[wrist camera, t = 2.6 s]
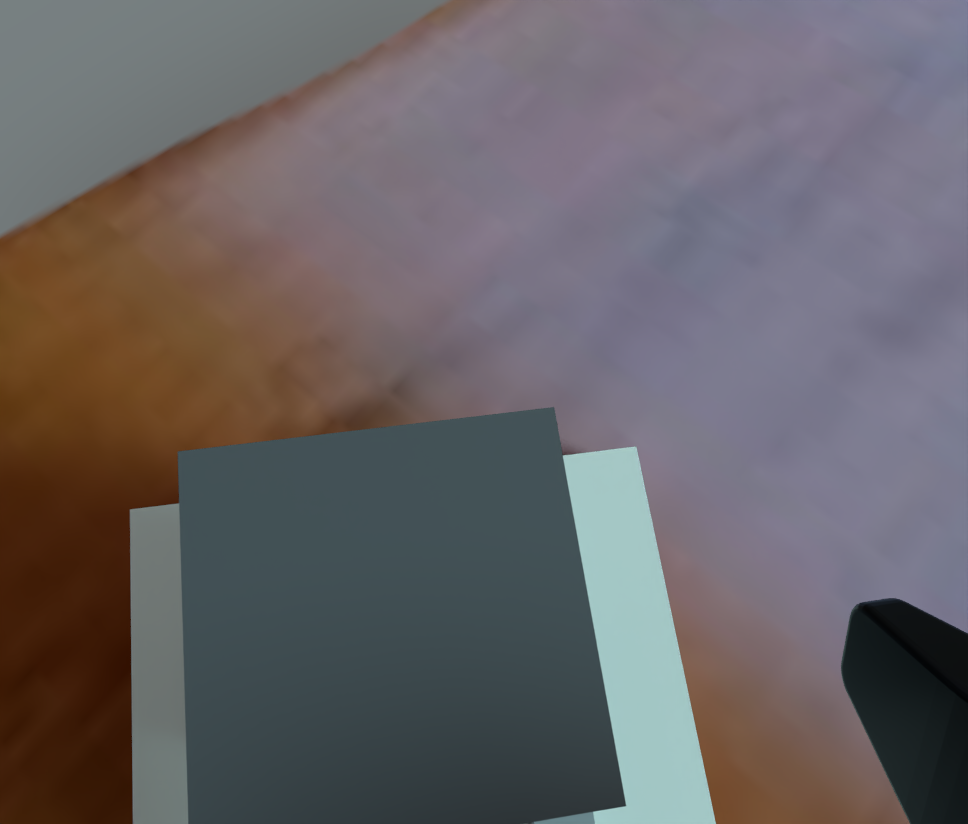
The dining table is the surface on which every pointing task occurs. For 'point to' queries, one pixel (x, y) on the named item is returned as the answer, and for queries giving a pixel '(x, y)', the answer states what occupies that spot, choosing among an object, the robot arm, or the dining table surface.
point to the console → (618, 630)
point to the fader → (390, 630)
